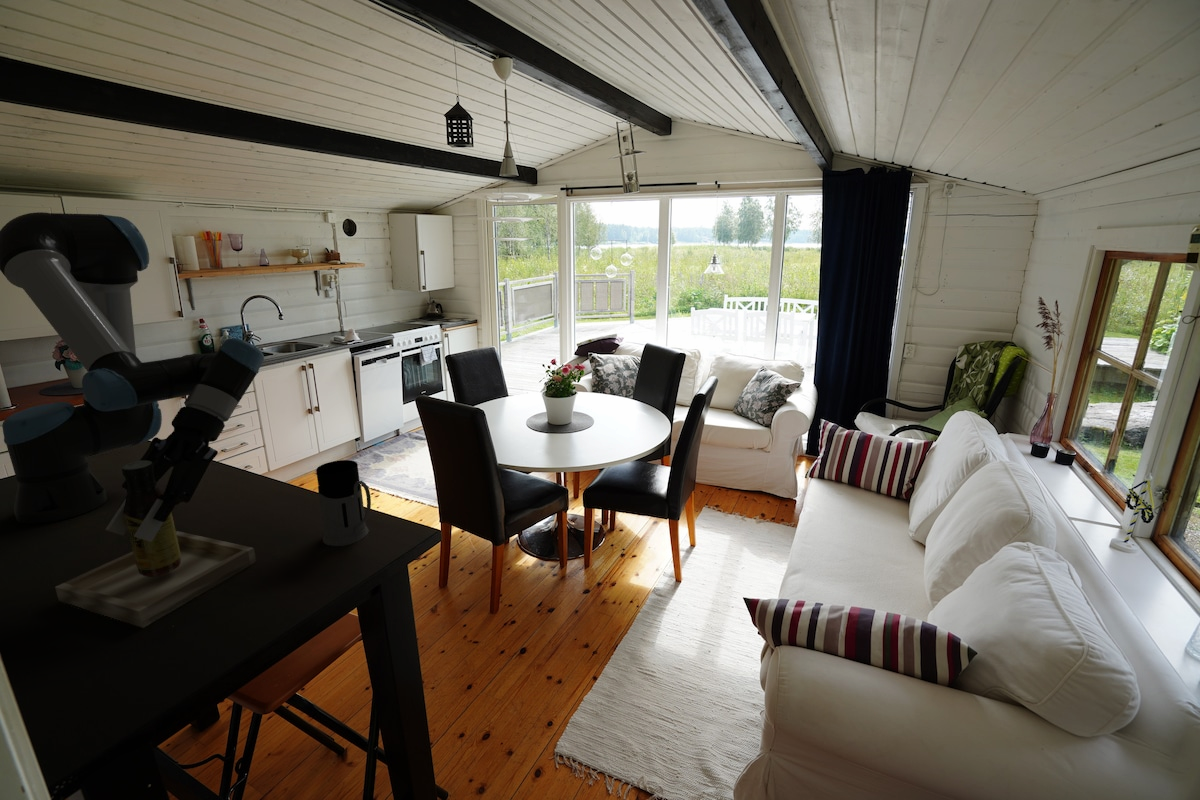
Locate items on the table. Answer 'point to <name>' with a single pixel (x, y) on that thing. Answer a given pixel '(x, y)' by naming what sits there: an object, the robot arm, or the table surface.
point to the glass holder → (342, 503)
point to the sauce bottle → (138, 503)
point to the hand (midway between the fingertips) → (128, 535)
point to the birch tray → (156, 581)
